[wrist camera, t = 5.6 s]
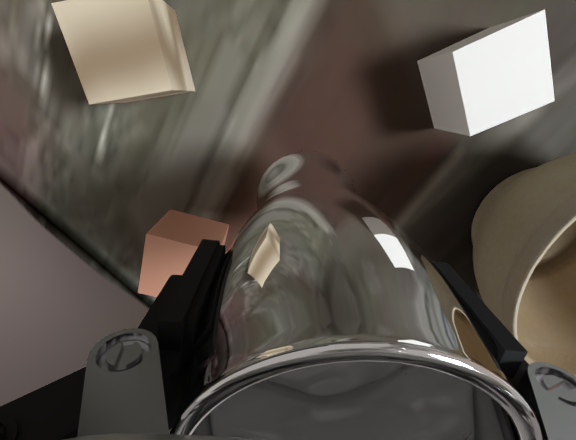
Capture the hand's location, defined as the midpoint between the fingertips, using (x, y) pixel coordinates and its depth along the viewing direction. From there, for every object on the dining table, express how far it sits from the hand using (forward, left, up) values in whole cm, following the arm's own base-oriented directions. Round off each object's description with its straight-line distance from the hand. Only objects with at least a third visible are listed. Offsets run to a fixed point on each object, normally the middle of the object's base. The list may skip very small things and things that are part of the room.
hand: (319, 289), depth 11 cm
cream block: (-8, +11, -15) cm, 21 cm away
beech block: (-7, -11, -15) cm, 20 cm away
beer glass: (0, 0, -9) cm, 9 cm away
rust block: (+7, -8, -15) cm, 19 cm away
